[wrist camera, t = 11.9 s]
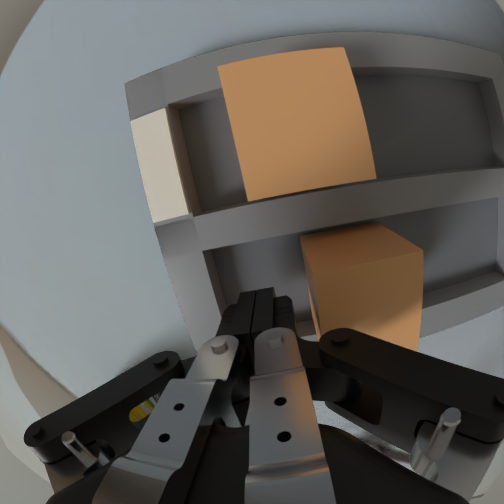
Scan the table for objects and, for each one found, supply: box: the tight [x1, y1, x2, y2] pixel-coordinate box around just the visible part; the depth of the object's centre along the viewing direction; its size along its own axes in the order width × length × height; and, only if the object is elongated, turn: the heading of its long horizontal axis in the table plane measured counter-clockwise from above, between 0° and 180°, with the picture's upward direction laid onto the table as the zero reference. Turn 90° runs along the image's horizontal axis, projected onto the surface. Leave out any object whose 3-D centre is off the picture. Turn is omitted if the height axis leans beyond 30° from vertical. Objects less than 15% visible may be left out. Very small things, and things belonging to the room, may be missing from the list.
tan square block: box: [217, 47, 377, 202], centre depth 10 cm, size 4×4×5 cm
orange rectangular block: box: [299, 222, 423, 352], centre depth 11 cm, size 4×4×5 cm
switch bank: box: [125, 32, 504, 354], centre depth 13 cm, size 22×16×4 cm
